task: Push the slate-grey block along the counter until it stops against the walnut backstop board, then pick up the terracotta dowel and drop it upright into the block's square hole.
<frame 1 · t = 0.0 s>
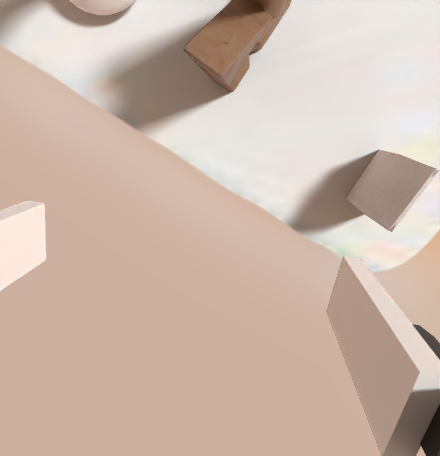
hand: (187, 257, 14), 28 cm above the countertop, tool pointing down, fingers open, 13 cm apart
wooden block: (247, 41, 36), on the countertop
tea bag: (373, 181, 40), on the countertop
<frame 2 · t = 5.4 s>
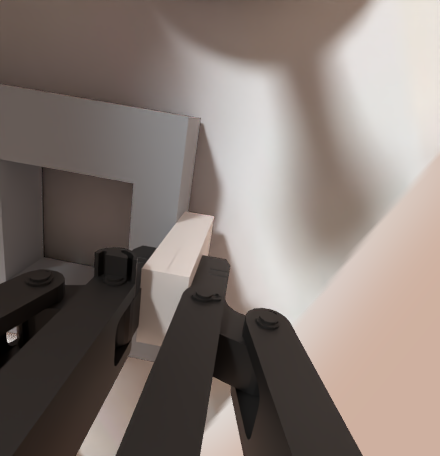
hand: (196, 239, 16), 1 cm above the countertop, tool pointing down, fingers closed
holed block: (33, 217, 16), point 2 cm above the countertop, slide at 1.0 cm, touching gripper
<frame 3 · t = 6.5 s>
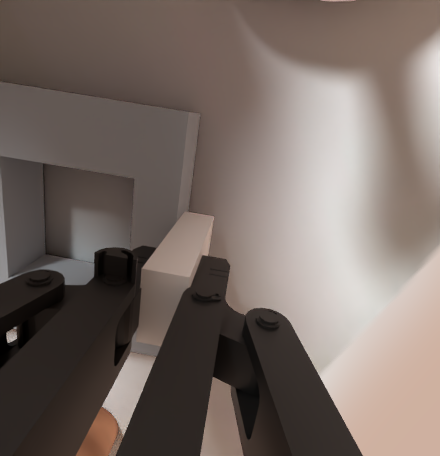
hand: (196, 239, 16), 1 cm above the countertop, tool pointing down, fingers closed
holed block: (35, 213, 16), point 2 cm above the countertop, slide at 4.9 cm, touching gripper
dowel: (91, 424, 23), on the countertop
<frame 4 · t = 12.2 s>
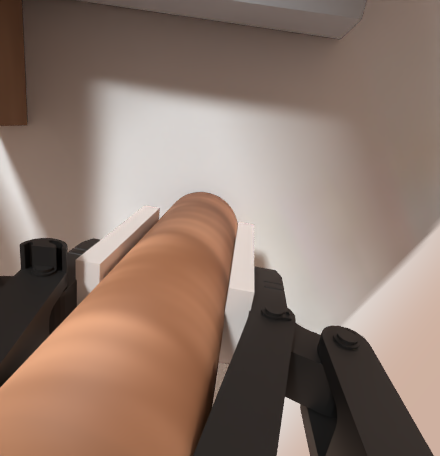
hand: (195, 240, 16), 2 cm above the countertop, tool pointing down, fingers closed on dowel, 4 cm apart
dowel: (201, 227, 18), on the countertop, touching gripper
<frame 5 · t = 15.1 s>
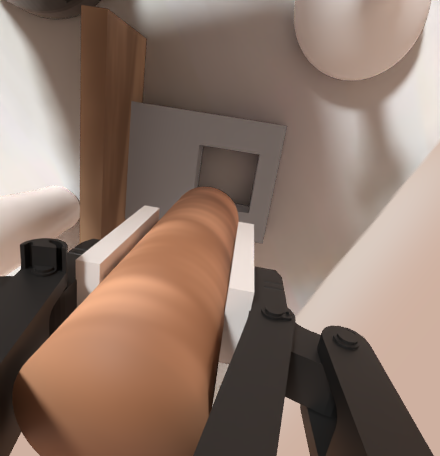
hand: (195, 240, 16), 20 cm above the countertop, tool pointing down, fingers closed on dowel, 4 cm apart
holed block: (202, 173, 34), point 2 cm above the countertop, slide at 5.0 cm, touching backstop board
backstop board: (129, 158, 36), on the countertop
flower in vase: (360, 22, 30), on the countertop
dowel: (205, 219, 20), point 17 cm above the countertop, touching gripper
drinking glass: (62, 206, 39), on the countertop
when the fingers open (5 cm above the countertop, at t = 18.2 s): dowel drops 1 cm, resting in holed block.
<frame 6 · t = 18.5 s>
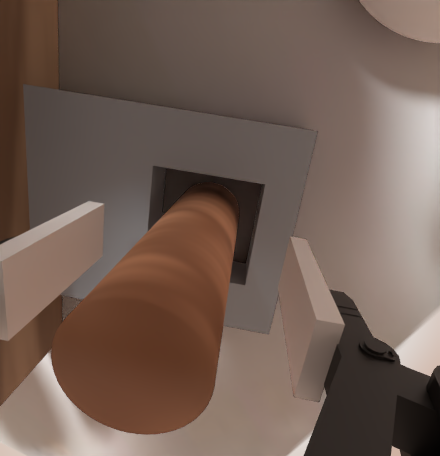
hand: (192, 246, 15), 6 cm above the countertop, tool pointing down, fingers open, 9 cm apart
holed block: (164, 213, 19), point 2 cm above the countertop, slide at 5.0 cm, touching backstop board
backstop board: (45, 184, 21), on the countertop
dowel: (208, 212, 21), resting in holed block
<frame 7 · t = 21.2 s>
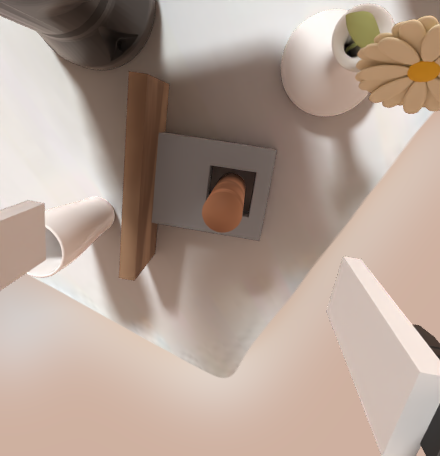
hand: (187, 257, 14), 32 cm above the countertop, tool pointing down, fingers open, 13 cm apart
holed block: (212, 186, 43), point 2 cm above the countertop, slide at 5.0 cm, touching backstop board
backstop board: (154, 175, 46), on the countertop
flower in vase: (331, 72, 40), on the countertop
dowel: (231, 187, 45), resting in holed block
drinking glass: (99, 212, 48), on the countertop
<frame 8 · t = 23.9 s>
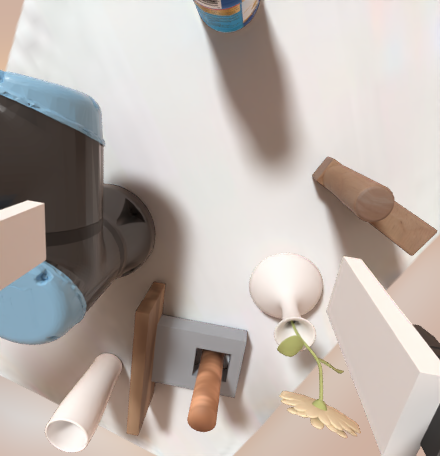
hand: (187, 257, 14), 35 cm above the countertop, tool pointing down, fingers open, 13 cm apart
wooden block: (347, 187, 47), on the countertop
holed block: (198, 356, 56), point 2 cm above the countertop, slide at 5.0 cm, touching backstop board
backstop board: (153, 340, 58), on the countertop
flower in vase: (288, 283, 52), on the countertop
dowel: (213, 352, 58), resting in holed block
drinking glass: (110, 362, 61), on the countertop
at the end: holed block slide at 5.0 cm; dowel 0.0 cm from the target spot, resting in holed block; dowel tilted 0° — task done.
